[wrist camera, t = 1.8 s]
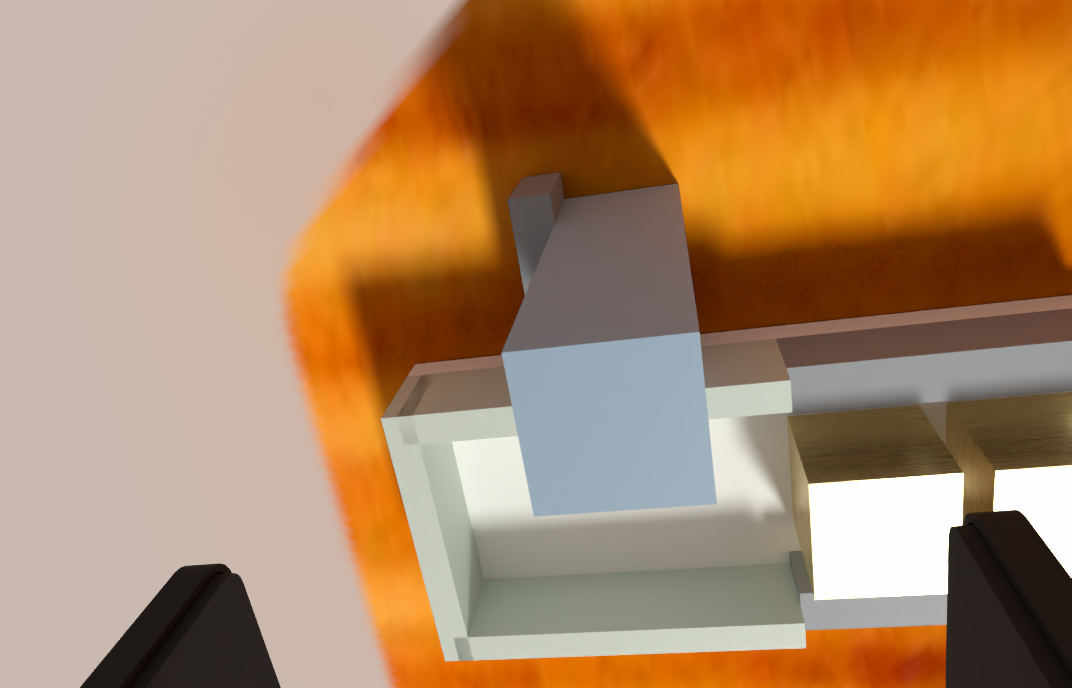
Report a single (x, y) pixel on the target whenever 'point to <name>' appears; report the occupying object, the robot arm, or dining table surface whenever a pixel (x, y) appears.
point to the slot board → (689, 531)
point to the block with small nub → (607, 352)
